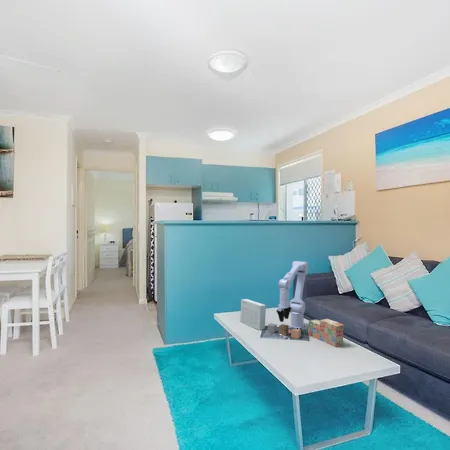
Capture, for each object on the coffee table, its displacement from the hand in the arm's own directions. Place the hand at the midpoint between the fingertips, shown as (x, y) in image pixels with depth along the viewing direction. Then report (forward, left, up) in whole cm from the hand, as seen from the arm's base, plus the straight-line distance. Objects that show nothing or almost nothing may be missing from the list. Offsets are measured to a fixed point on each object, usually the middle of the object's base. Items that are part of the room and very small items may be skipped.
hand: (284, 320), depth 199 cm
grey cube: (0, -8, -9) cm, 12 cm away
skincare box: (-4, -24, -9) cm, 26 cm away
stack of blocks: (-6, +24, -9) cm, 27 cm away
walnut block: (0, 0, -9) cm, 9 cm away
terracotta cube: (0, +8, -9) cm, 12 cm away
